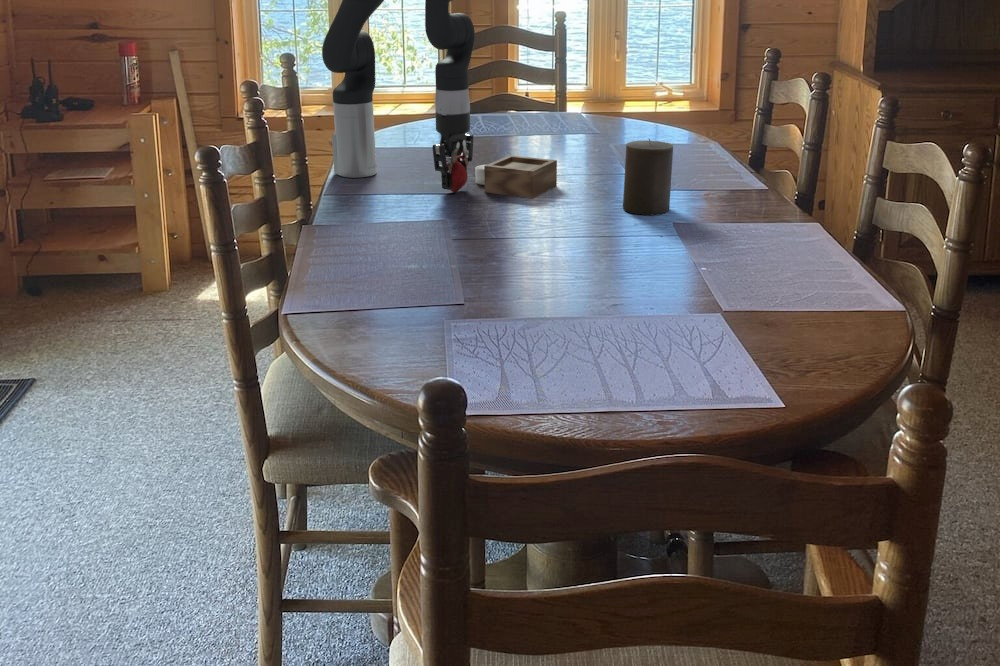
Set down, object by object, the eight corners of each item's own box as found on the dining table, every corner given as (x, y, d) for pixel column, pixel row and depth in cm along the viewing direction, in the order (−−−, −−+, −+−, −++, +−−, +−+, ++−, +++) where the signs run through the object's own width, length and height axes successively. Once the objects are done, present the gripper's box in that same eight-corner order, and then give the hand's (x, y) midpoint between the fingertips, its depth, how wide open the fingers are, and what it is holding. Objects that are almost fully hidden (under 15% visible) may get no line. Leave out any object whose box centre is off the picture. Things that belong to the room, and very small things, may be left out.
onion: (464, 196, 233) (463, 160, 230) (438, 195, 234) (437, 159, 231) (470, 189, 239) (469, 154, 236) (445, 188, 240) (444, 153, 237)
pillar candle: (640, 218, 216) (644, 144, 210) (613, 206, 224) (617, 135, 218) (679, 212, 220) (684, 140, 214) (651, 201, 228) (655, 132, 222)
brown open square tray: (484, 192, 236) (484, 165, 234) (509, 180, 246) (509, 155, 244) (532, 198, 231) (533, 171, 229) (556, 186, 241) (556, 160, 239)
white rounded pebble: (470, 183, 244) (470, 168, 243) (483, 178, 249) (483, 163, 248) (493, 186, 242) (493, 171, 240) (506, 181, 247) (505, 166, 245)
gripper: (454, 103, 237) (456, 177, 243) (420, 113, 225) (422, 191, 232) (483, 105, 234) (484, 180, 240) (450, 116, 222) (452, 194, 228)
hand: (454, 185), depth 236 cm, fingers closed on onion, 6 cm apart
